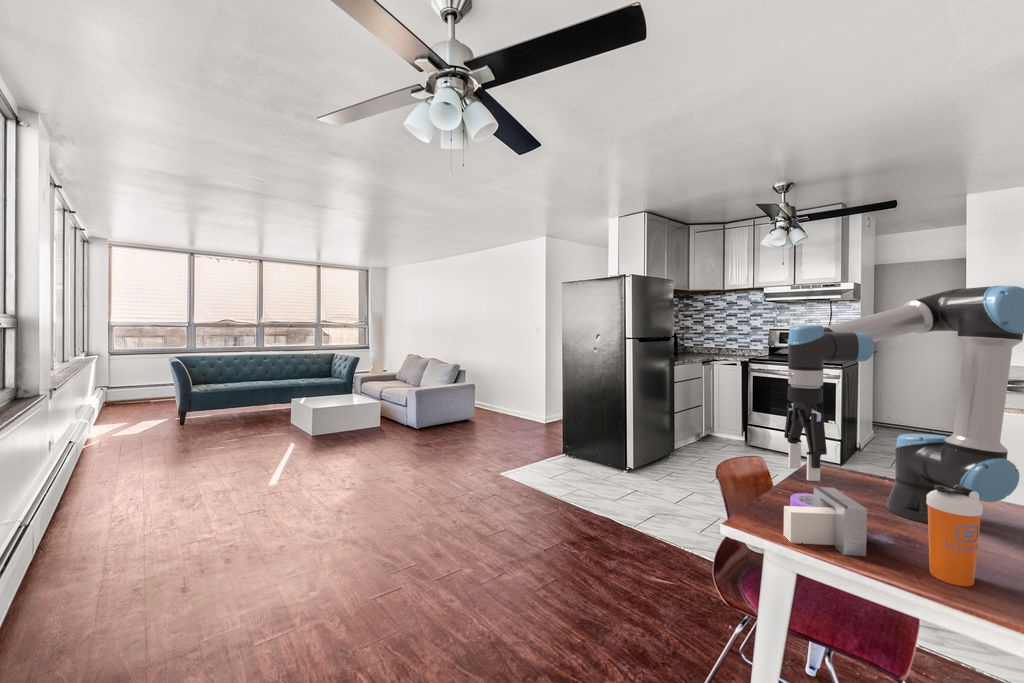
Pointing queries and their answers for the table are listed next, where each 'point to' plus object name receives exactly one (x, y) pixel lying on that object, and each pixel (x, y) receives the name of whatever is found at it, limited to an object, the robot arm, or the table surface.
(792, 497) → the masking tape
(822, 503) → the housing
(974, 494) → the shaker bottle
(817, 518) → the cream rectangular block
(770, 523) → the table surface
